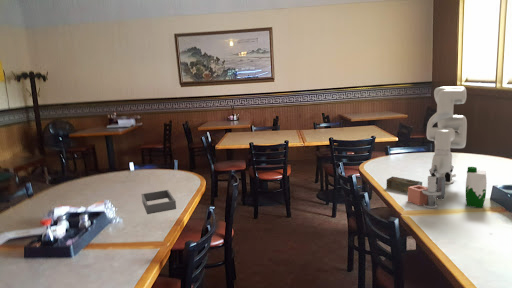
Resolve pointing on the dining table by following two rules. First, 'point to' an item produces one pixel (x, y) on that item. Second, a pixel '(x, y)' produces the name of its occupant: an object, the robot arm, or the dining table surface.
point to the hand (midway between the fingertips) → (441, 182)
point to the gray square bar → (441, 187)
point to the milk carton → (475, 187)
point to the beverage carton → (401, 183)
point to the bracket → (417, 195)
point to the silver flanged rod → (431, 192)
